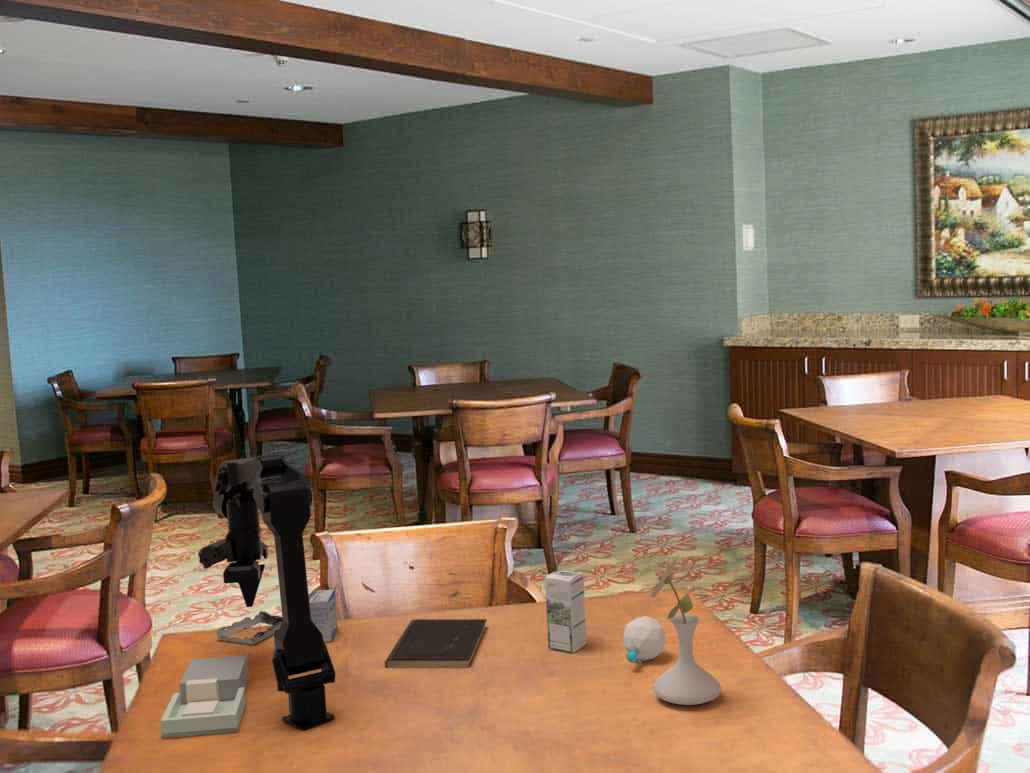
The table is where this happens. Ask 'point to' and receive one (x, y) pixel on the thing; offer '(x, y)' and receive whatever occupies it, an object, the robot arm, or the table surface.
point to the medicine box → (324, 613)
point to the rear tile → (202, 690)
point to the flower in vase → (683, 656)
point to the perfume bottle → (643, 639)
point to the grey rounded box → (218, 675)
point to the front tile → (201, 708)
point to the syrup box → (565, 611)
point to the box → (202, 718)
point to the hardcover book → (437, 643)
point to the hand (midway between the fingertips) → (249, 606)
